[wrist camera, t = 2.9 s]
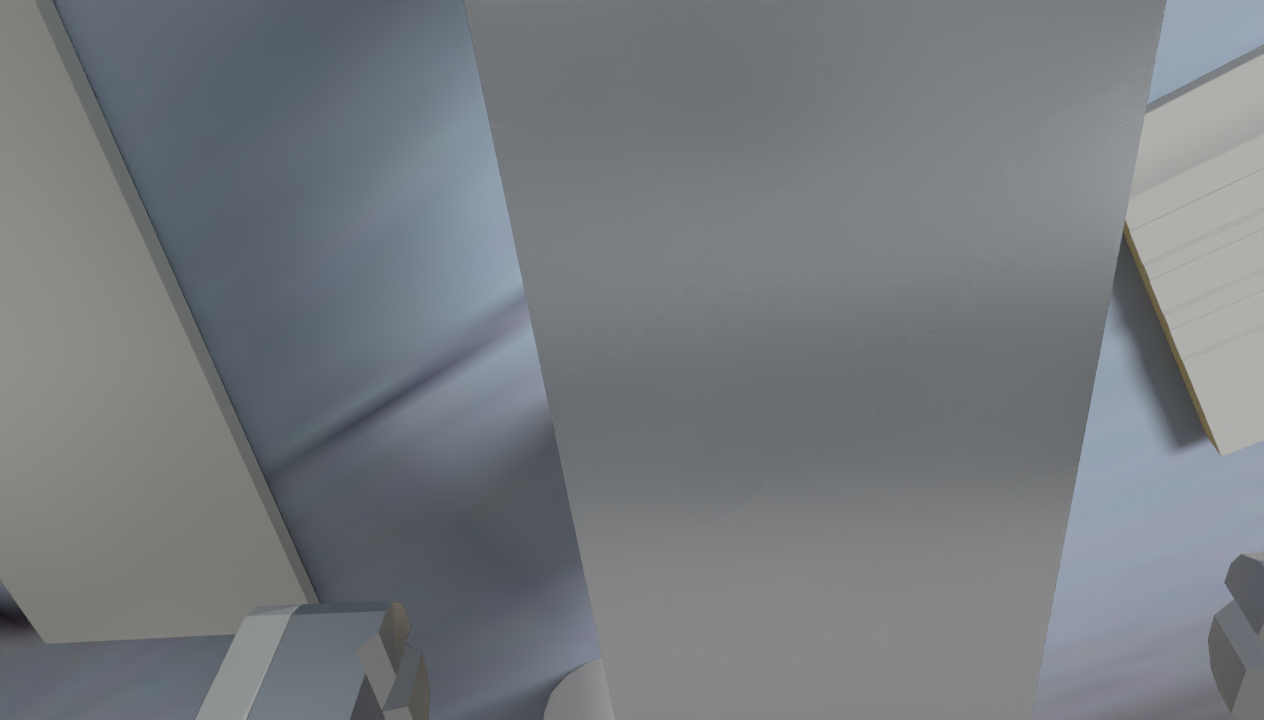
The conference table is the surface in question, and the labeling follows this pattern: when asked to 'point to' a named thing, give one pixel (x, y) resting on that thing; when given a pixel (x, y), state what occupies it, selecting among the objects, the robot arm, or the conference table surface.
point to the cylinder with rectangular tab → (581, 695)
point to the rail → (818, 329)
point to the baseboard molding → (1208, 241)
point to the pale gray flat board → (110, 389)
